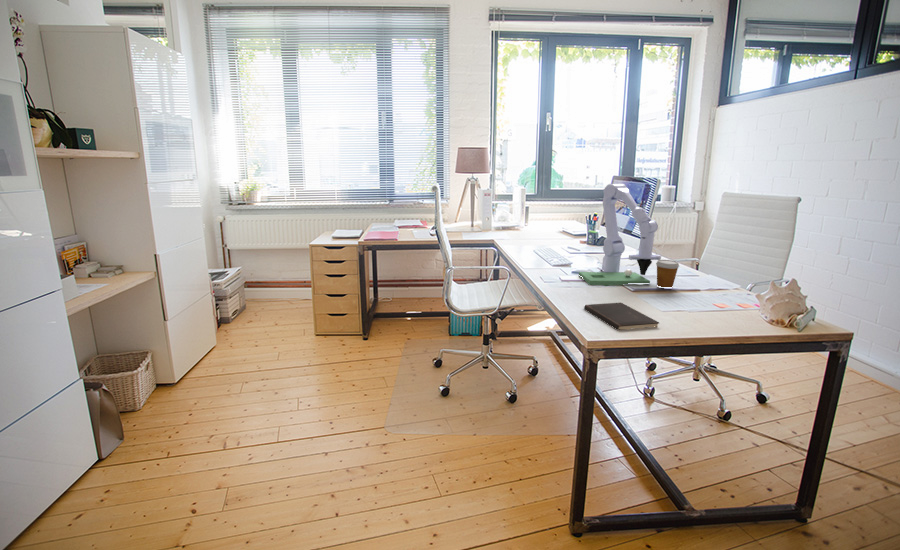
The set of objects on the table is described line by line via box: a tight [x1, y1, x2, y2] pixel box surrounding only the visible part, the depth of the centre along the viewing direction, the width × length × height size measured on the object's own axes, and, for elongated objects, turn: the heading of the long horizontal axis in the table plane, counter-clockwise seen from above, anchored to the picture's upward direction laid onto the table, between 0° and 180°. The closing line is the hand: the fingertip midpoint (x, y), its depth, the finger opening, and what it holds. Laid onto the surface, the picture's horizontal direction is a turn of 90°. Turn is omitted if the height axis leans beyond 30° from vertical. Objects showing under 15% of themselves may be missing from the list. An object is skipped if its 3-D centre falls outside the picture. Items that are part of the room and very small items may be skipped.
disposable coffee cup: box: [655, 259, 680, 288], centre depth 213 cm, size 10×10×12 cm
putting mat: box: [578, 271, 651, 286], centre depth 225 cm, size 16×28×2 cm, turn 93°
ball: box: [624, 268, 633, 277], centre depth 225 cm, size 4×4×4 cm
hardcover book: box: [583, 302, 660, 331], centre depth 174 cm, size 16×23×2 cm
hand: (642, 274), depth 225 cm, fingers closed
